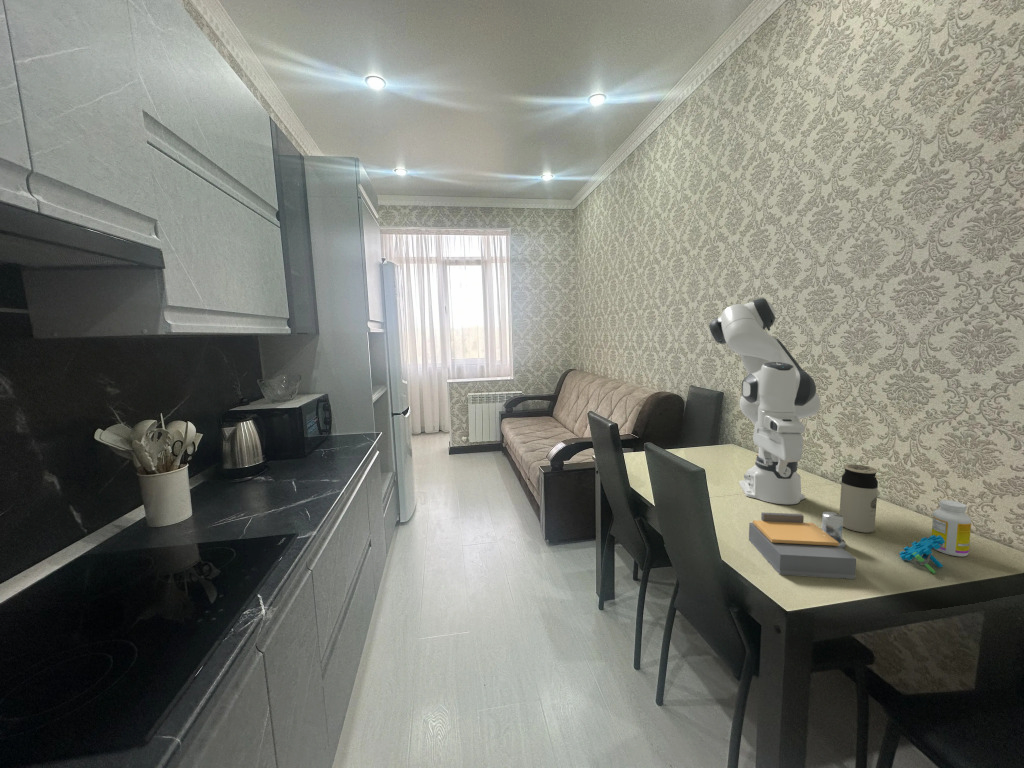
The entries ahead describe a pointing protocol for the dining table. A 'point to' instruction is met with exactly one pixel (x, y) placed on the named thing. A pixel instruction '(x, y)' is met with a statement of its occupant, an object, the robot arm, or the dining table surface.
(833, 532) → the silver rounded cylinder
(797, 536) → the lid
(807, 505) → the dining table surface
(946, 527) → the supplement bottle
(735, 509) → the dining table surface
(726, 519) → the dining table surface
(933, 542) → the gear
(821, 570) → the housing
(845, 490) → the travel mug
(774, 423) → the robot arm
